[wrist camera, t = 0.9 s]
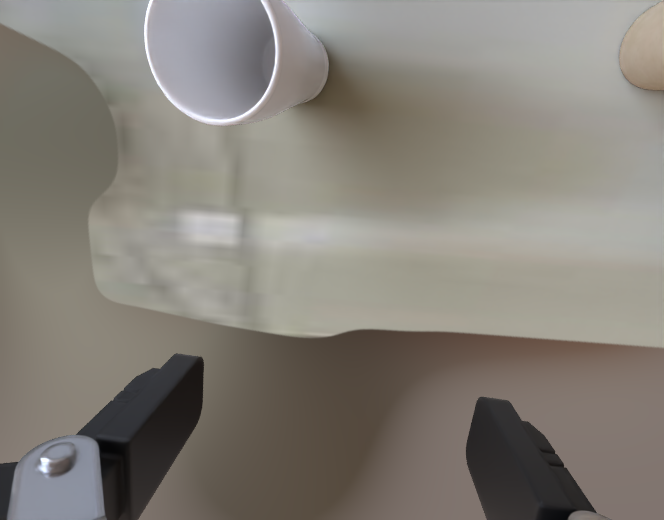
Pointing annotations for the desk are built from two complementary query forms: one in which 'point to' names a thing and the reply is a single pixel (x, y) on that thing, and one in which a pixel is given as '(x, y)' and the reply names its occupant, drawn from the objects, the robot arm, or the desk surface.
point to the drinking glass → (233, 58)
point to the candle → (645, 50)
